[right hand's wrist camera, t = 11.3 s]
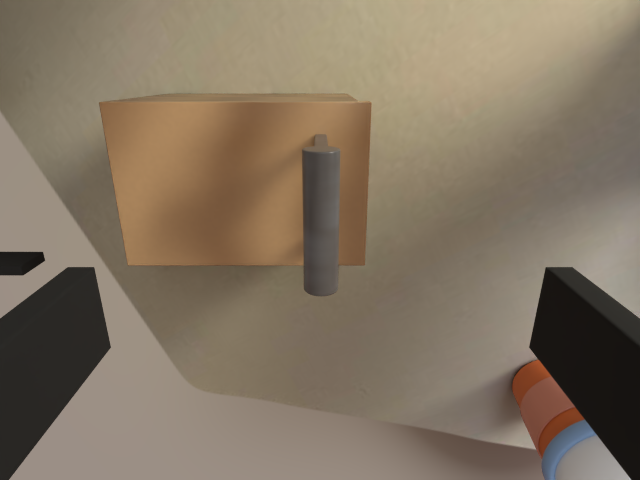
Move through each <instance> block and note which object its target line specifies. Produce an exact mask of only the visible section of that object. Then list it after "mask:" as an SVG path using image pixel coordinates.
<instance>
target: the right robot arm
mask: <svg viewBox="0 0 640 480" xmlns="http://www.w3.org/2000/svg"><path fill="white" fill-rule="evenodd" d="M110 348H111V346H110V341H109V337H108V332H107V327H106V322H105V318H104V313H103V308H102V303H101V298H100V293H99V289H98V284H97V279H96V274H95V269H94V267H68V268H66V269H65V270H64V271H62V272H61V273H60V274H58V275H57V276H56V277H54V278H53V279H52V280H50V281H49V282H48V283H47V284H45V285H44V286H43V287H41V288H40V289H39V290H37V291H36V292H35V293H33V294H32V295H31V296H29V297H28V298H27V299H25V300H24V301H23V302H21V303H20V304H19V305H17V306H16V307H15V308H14V309H12V310H11V311H10V312H8V313H7V314H6V315H4V316H3V317H2V318H0V480H9V479H10V478H11V476H12V475H13V474H14V472H15V471H16V470H17V468H18V467H19V466H20V465H21V463H22V462H23V461H24V459H25V458H26V457H27V455H28V454H29V453H30V451H31V450H32V449H33V448H34V446H35V445H36V444H37V442H38V441H39V440H40V439H41V437H42V436H43V435H44V433H45V432H46V431H47V429H48V428H49V427H50V426H51V424H52V423H53V422H54V420H55V419H56V418H57V417H58V415H59V414H60V413H61V411H62V410H63V409H64V407H65V406H66V405H67V404H68V402H69V401H70V400H71V398H72V397H73V396H74V394H75V393H76V392H77V391H78V389H79V388H80V387H81V385H82V384H83V383H84V381H85V380H86V379H87V378H88V376H89V375H90V374H91V372H92V371H93V370H94V368H95V367H96V366H97V365H98V363H99V362H100V361H101V359H102V358H103V357H104V355H105V354H106V353H107V352H108V350H109V349H110ZM529 348H530V349H531V350H532V352H533V353H534V354H535V355H536V357H537V358H538V359H539V361H540V362H541V363H542V365H543V366H544V367H545V368H546V370H547V371H548V372H549V374H550V375H551V376H552V378H553V379H554V380H555V381H556V383H557V384H558V385H559V387H560V388H561V389H562V391H563V392H564V393H565V394H566V396H567V397H568V398H569V400H570V401H571V402H572V404H573V405H574V406H575V407H576V409H577V410H578V411H579V413H580V414H581V415H582V417H583V418H584V419H585V420H586V422H587V423H588V424H589V426H590V427H591V428H592V429H593V431H594V432H595V433H596V435H597V436H598V437H599V439H600V440H601V441H602V442H603V444H604V445H605V446H606V448H607V449H608V450H609V452H610V453H611V454H612V455H613V457H614V458H615V459H616V461H617V462H618V463H619V465H620V466H621V467H622V468H623V470H624V471H625V472H626V474H627V475H628V476H629V478H630V479H631V480H640V318H638V317H637V316H636V315H634V314H633V313H632V312H630V311H629V310H628V309H626V308H625V307H624V306H623V305H621V304H620V303H619V302H617V301H616V300H615V299H613V298H612V297H611V296H609V295H608V294H607V293H605V292H604V291H603V290H601V289H600V288H599V287H597V286H596V285H595V284H594V283H592V282H591V281H590V280H588V279H587V278H586V277H584V276H583V275H582V274H580V273H579V272H578V271H576V270H575V269H574V268H572V267H546V269H545V274H544V279H543V284H542V288H541V293H540V298H539V303H538V308H537V313H536V317H535V322H534V327H533V332H532V337H531V341H530V346H529Z"/></svg>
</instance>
